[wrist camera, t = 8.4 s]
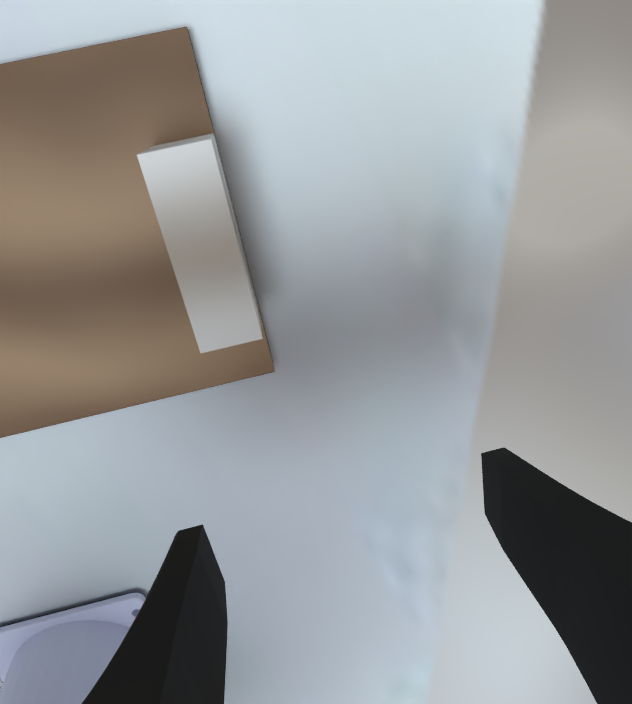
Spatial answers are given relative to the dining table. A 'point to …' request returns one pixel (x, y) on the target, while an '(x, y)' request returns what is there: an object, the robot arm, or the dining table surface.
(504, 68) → the dining table surface
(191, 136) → the brown wooden flat board
